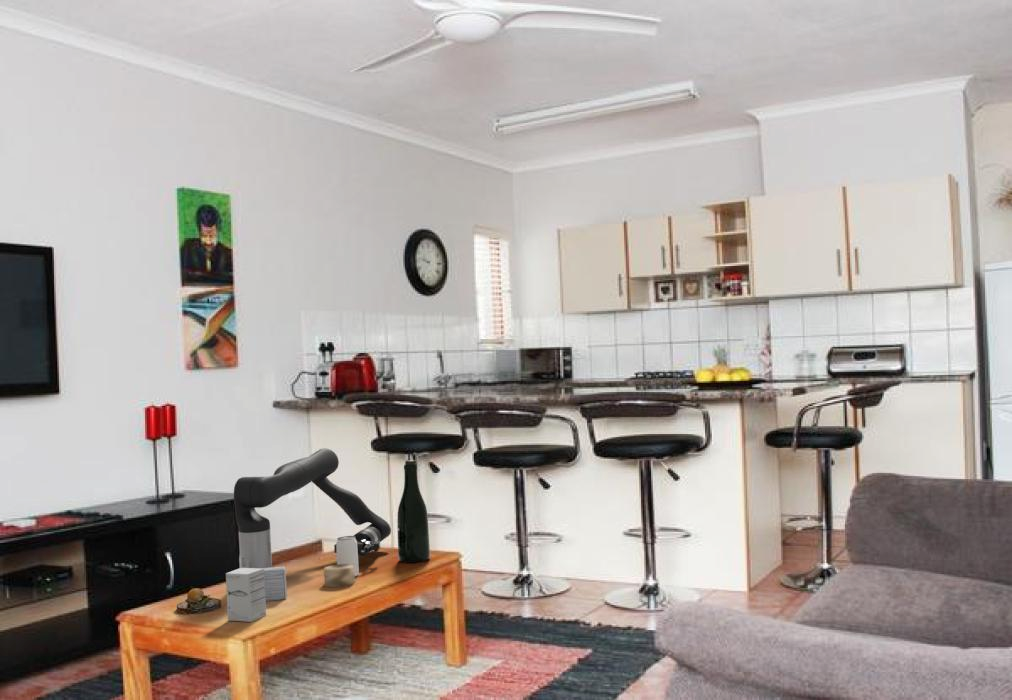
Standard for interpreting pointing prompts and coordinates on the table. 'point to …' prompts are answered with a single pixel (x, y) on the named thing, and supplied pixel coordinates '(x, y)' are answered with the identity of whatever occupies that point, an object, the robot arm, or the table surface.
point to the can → (347, 552)
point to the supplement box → (245, 594)
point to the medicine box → (275, 583)
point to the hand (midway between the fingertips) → (351, 551)
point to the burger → (198, 603)
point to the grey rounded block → (339, 575)
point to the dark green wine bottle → (412, 519)
